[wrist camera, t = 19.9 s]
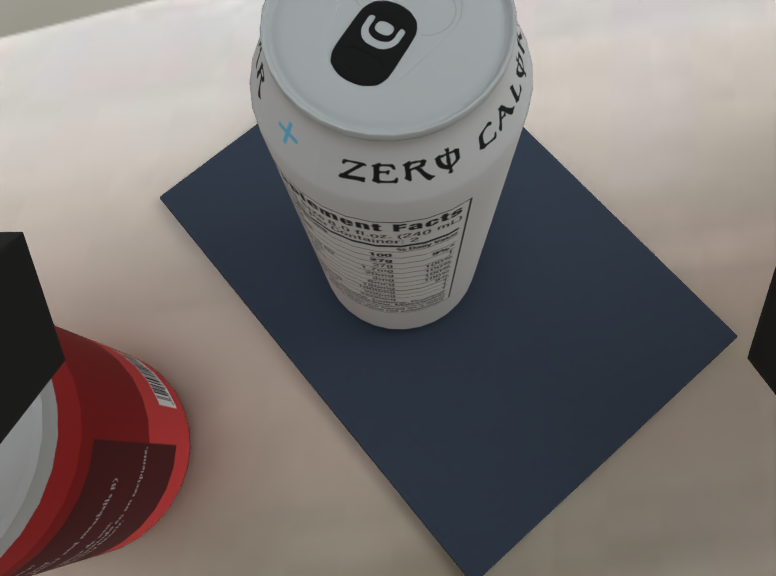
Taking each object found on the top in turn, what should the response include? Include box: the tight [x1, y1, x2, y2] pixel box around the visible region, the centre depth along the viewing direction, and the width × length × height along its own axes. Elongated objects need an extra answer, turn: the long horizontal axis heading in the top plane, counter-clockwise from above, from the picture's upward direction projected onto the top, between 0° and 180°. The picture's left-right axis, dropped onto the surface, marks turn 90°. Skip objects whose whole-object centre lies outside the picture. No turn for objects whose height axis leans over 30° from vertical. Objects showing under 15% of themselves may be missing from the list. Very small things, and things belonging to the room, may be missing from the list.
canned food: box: [0, 326, 190, 576], centre depth 20 cm, size 8×8×11 cm
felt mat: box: [160, 124, 737, 576], centre depth 27 cm, size 20×14×1 cm
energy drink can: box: [250, 0, 533, 329], centre depth 19 cm, size 6×6×15 cm
